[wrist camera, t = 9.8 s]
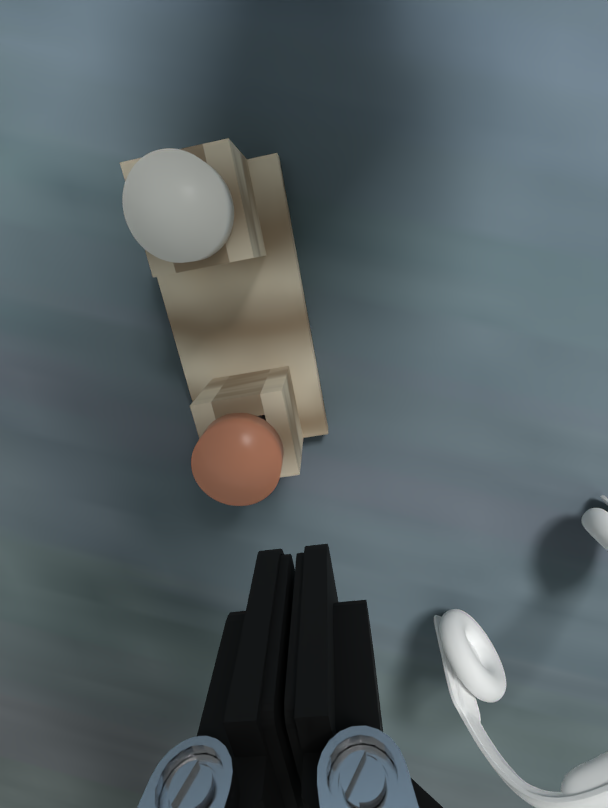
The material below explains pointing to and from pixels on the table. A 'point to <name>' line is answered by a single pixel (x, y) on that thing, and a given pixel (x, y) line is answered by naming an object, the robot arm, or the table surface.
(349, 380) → the table surface
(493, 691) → the headset
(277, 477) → the terracotta plug
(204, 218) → the plug
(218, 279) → the block
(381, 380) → the table surface
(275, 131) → the table surface
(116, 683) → the table surface
